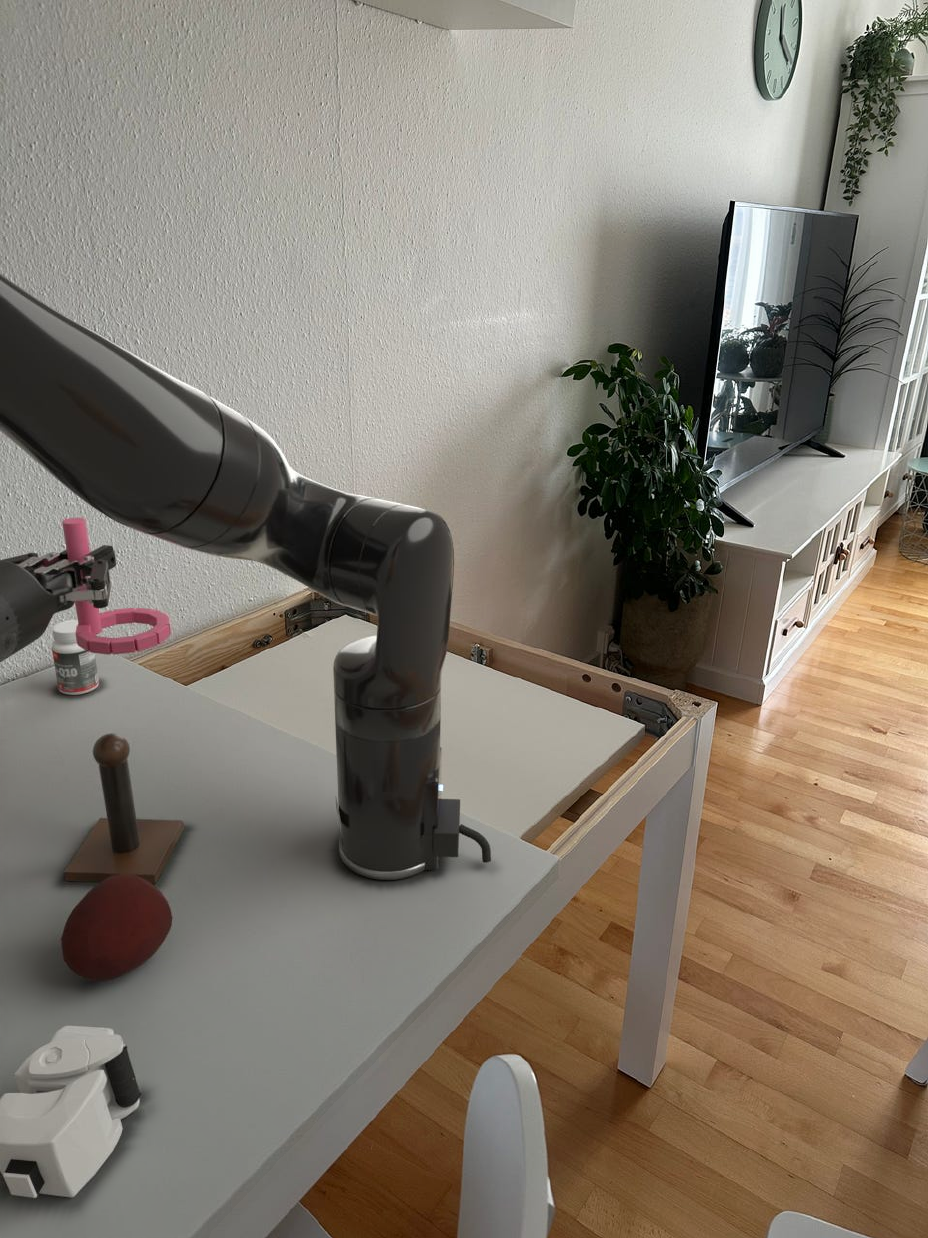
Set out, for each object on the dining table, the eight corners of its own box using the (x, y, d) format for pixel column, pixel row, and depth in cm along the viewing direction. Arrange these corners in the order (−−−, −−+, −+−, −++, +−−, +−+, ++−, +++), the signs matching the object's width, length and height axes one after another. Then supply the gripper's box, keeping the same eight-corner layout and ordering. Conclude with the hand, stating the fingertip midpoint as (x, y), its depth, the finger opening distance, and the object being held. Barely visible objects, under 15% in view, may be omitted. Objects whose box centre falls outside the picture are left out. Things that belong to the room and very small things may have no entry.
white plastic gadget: (158, 1067, 61) (90, 1222, 52) (65, 1060, 61) (-18, 1213, 52) (141, 1007, 58) (66, 1160, 49) (44, 1001, 59) (-47, 1151, 50)
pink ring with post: (186, 623, 89) (174, 514, 84) (141, 658, 81) (126, 541, 77) (106, 614, 90) (90, 507, 86) (54, 648, 83) (34, 533, 78)
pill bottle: (50, 691, 111) (39, 629, 107) (78, 675, 115) (68, 615, 111) (80, 699, 109) (69, 636, 106) (107, 683, 113) (98, 622, 110)
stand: (184, 828, 86) (170, 714, 81) (155, 884, 78) (138, 762, 74) (101, 826, 86) (82, 711, 81) (65, 881, 79) (41, 759, 74)
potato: (62, 992, 69) (22, 921, 67) (147, 917, 75) (113, 850, 73) (118, 1012, 65) (76, 937, 62) (203, 931, 71) (168, 860, 69)
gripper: (43, 585, 68) (159, 521, 84) (-113, 569, 71) (28, 510, 86) (59, 674, 71) (168, 596, 87) (-92, 655, 73) (41, 583, 89)
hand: (98, 553), depth 86 cm, fingers closed on pink ring with post
